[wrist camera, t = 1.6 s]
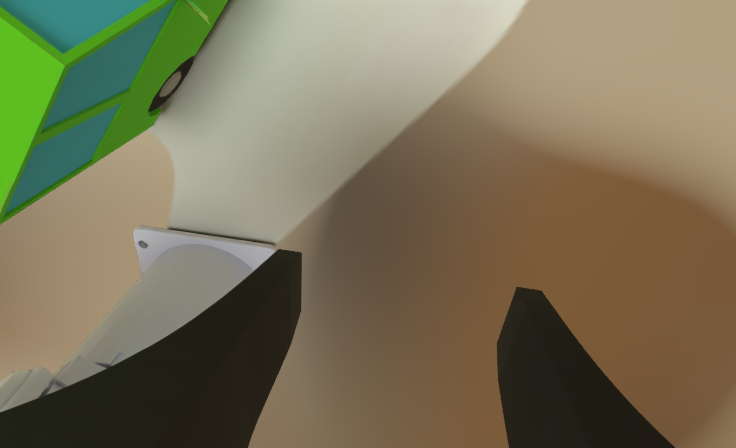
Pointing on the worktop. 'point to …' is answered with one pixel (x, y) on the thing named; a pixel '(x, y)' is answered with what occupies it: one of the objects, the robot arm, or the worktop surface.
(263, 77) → the worktop surface
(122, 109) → the toy car
